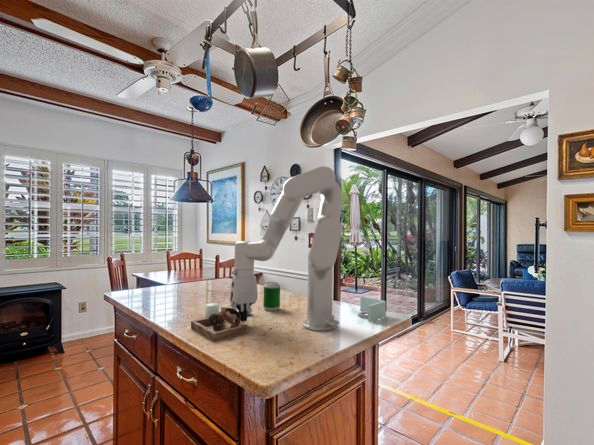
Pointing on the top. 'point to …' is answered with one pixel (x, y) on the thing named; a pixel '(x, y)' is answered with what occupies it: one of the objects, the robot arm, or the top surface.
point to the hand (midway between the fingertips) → (242, 320)
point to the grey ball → (249, 311)
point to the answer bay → (214, 336)
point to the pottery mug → (225, 318)
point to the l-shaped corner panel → (372, 309)
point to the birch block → (228, 311)
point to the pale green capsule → (211, 309)
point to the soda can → (271, 296)
